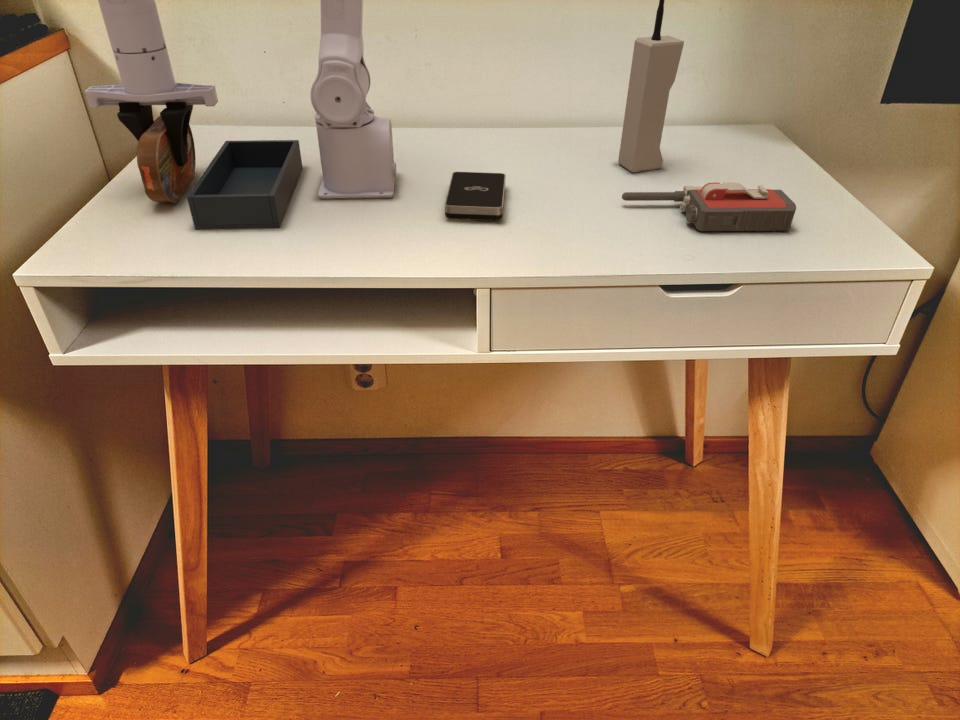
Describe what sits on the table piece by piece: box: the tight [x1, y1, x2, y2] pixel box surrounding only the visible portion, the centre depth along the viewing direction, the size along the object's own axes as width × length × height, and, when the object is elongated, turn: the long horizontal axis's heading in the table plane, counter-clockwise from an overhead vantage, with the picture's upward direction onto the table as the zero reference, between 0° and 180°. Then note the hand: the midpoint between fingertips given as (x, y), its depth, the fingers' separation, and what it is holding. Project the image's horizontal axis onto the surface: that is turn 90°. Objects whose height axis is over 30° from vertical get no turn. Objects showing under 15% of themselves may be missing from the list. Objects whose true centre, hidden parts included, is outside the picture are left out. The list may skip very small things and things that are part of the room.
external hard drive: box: [444, 171, 506, 221], centre depth 85 cm, size 7×11×2 cm, turn 176°
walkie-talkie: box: [621, 182, 797, 232], centre depth 82 cm, size 9×4×20 cm
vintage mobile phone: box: [617, 0, 685, 174], centre depth 89 cm, size 4×5×25 cm
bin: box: [186, 139, 304, 230], centre depth 85 cm, size 10×19×4 cm, turn 4°
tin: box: [136, 115, 197, 204], centre depth 85 cm, size 15×3×8 cm, turn 5°
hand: (170, 163), depth 86 cm, fingers closed on tin, 2 cm apart
